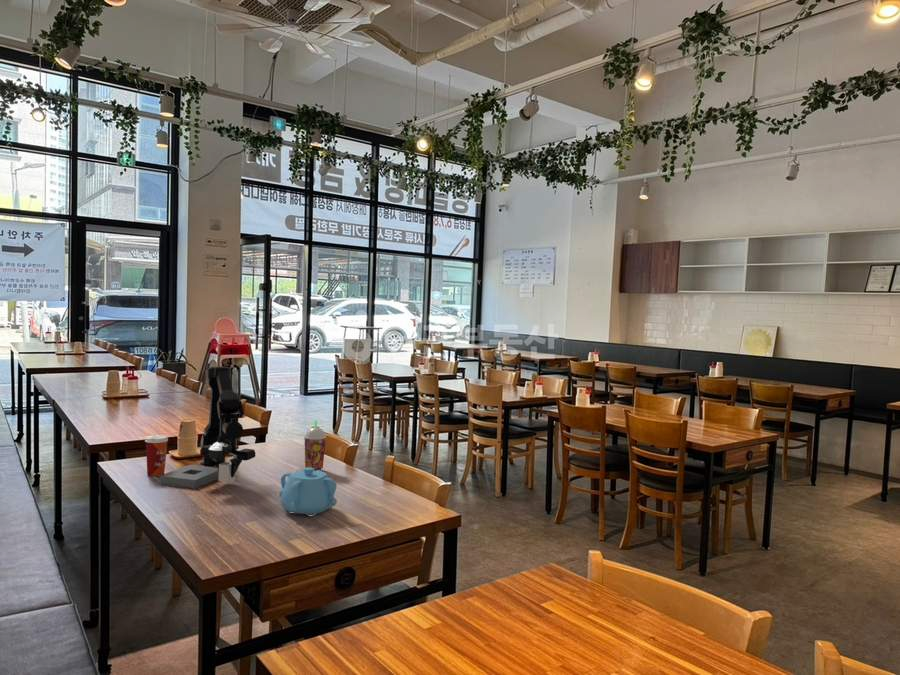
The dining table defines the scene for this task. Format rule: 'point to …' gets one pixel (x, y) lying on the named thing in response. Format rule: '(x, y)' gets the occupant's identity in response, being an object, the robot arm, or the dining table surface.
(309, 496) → the decorative pot
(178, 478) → the socket plate
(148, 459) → the paper cup
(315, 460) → the smoothie
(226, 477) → the block
